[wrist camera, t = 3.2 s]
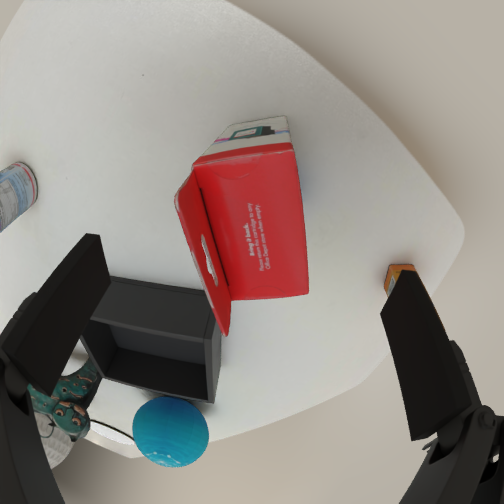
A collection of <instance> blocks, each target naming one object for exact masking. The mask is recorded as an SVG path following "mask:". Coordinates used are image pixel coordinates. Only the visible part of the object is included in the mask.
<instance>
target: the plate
mask: <svg viewBox="0 0 504 504" xmlns="http://www.w3.org/2000/svg"><path fill="white" fill-rule="evenodd" d="M90 429H92V430H93V431H95V432H96V433H98V434H100V435H102V436H104V437H106V438H108V439H111V440H113V441H116V442H119V443H123V444H127V445H135V444H136V443H135V441H134V440H133V439H131V438H130V437H128V436H127V435H125V434H123V433H121V432H120V431H118V430H115V429H113V428H111V427H109V426H106V425H104V424H101V423H97V422H94V421H91V426H90Z"/></svg>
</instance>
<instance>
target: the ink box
mask: <svg viewBox="0 0 504 504" xmlns="http://www.w3.org/2000/svg"><path fill="white" fill-rule="evenodd" d="M174 203H175V208H176V210H177V213H178V216H179V219H180V222H181V225H182V228H183V231H184V234H185V237H186V240H187V243H188V246H189V248H190V251H191V255H192V257H193V260H194V263H195V266H196V268H197V271H198V274H199V277H200V280H201V282H202V285H203V288H204V290H205V293H206V295H207V298H208V301H209V303H210V306H211V308H212V310H213V313H214V315H215V318H216V320H217V323H218V325H219V328H220V330H221V333H222V335H223V336H224V337H226V336H227V335H228V332H229V326H230V314H231V301H234V300H256V299H272V298H283V297H292V296H299V295H305V294H308V293H309V277H308V260H307V246H306V233H305V223H304V213H303V204H302V196H301V189H300V182H299V176H298V169H297V164H296V159H295V153H294V149H293V145H292V141H291V137H290V132H289V128H288V122H287V118H286V116H280V117H274V118H268V119H262V120H256V121H251V122H246V123H241V124H235V125H230V126H229V127H228V128H227V129H226V130H225V131H224V132H223V133H222V134H221V135H220V136H219V137H218V138H217V139H216V140H215V141H214V142H213V144H212V145H211V146H210V147H209V148H208V149H207V150H206V151H205V152H204V153H203V154H202V155H201V156H200V157H199V158H198V159H197V160H196V161H195V162H194V163H193V164H192V168H191V173H190V175H189V176H188V178H187V179H186V180H185V181H184V183H183V184H182V185H181V187H180V188H179V190H178V191H177V193H176V195H175V199H174ZM201 239H202V242H203V245H204V248H205V251H206V254H207V257H208V261H209V264H210V267H211V270H212V273H213V276H214V279H213V276H212V274H210V273H209V272H208V269H207V262H206V255H205V252H204V249H203V247H202V242H201Z"/></svg>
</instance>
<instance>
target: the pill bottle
mask: <svg viewBox="0 0 504 504" xmlns="http://www.w3.org/2000/svg"><path fill="white" fill-rule="evenodd" d="M36 196H37V186H36V181H35V178H34V175H33V173H32V172H31V170H30V169H29V168H28V167H27V166H26V165H24V164H22V163H14V164H12V165H10V166H9V167H7V168H5V169H4V170H2V171H1V172H0V233H1V232H2V231H3V230H4V229H5V228H6V227H7V226H8V225H9V224H11V223H12V222H13V221H14V220H15V219H16V218H18V217H19V216H20V215H21V214H22V213H23V212H25V211H26V210H27V209H28V208H30V207H31V206H32V205H33V204H34V202H35V200H36Z"/></svg>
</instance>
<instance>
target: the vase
mask: <svg viewBox="0 0 504 504" xmlns="http://www.w3.org/2000/svg"><path fill="white" fill-rule="evenodd" d="M34 414H35V418H36V422H37V426H38V430H39V433H40V435H41V436H44V437H45V436H49V435H50V434H51V432H52V428H53V427H52V426H49V425H48V424H49V423H52V422H51V420H50V419H49V418H48V417H47V416H45V415H43V414H39V413H35V412H34ZM50 418H51V419H52V417H50ZM41 440H42V444H43V447H44V450H45V453H46V456H47V459H48V462H49V465H50V468H51V469H52V468H54V467H55V466H57V465H58V464H60V463H61V462H62V461H63V460H64V459H65V458H66V456H67V455H68V453H69V452H70V450H71V449H72V447H73V444H74V442H71V439H70V437H69V436H68V435H66V434H65V433H64V432H62V431H61V430H60V429H59V428H56V427H54V431H53V433H52V435H51V436H50V437H49V438H42V437H41Z"/></svg>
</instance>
